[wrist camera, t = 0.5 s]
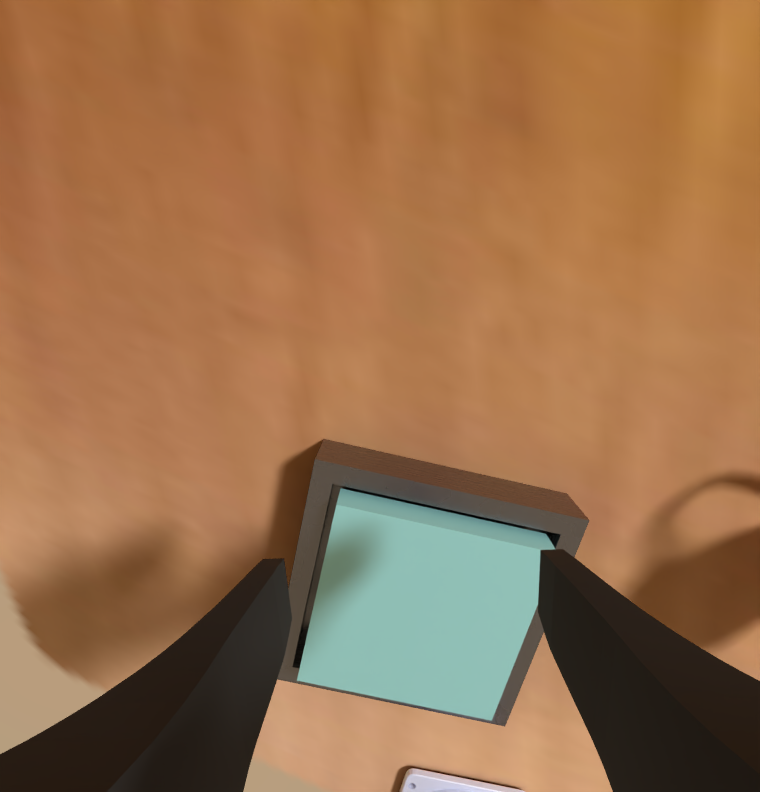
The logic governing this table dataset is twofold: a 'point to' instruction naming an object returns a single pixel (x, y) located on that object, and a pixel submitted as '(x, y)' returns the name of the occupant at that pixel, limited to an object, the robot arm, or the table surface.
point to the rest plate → (421, 605)
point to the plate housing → (426, 489)
